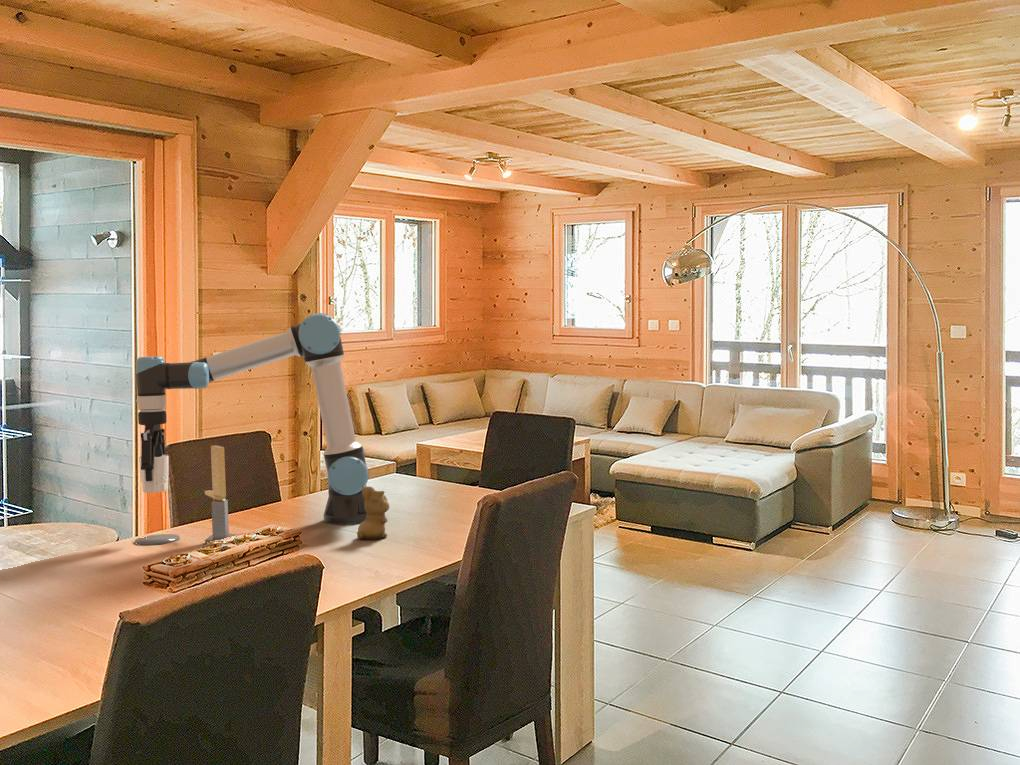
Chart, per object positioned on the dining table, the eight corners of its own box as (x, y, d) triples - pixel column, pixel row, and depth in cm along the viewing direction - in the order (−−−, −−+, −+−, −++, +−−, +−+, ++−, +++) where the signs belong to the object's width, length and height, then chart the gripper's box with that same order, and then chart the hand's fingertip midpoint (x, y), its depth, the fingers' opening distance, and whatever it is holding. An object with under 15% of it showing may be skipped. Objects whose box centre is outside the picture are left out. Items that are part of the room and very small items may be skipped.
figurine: (397, 535, 262) (396, 483, 261) (384, 542, 254) (382, 488, 253) (367, 534, 265) (365, 482, 265) (352, 540, 257) (350, 487, 257)
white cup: (159, 493, 258) (158, 458, 258) (134, 493, 260) (133, 458, 259) (175, 488, 266) (174, 454, 265) (151, 488, 267) (149, 454, 267)
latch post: (236, 538, 264) (235, 498, 264) (230, 543, 257) (229, 502, 257) (211, 538, 264) (210, 499, 263) (205, 544, 257) (203, 503, 256)
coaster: (184, 535, 270) (184, 533, 270) (172, 544, 258) (172, 542, 258) (143, 536, 269) (143, 534, 269) (128, 545, 257) (128, 543, 257)
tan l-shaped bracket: (228, 501, 258) (226, 447, 257) (217, 502, 256) (215, 448, 256) (213, 494, 271) (211, 442, 270) (202, 495, 269) (200, 443, 269)
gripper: (150, 408, 272) (153, 485, 273) (125, 413, 251) (129, 496, 252) (176, 407, 272) (179, 484, 273) (153, 412, 252) (157, 495, 253)
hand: (155, 489), depth 263 cm, fingers closed on white cup, 7 cm apart
